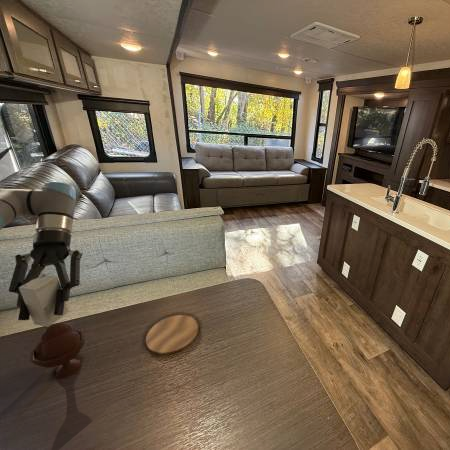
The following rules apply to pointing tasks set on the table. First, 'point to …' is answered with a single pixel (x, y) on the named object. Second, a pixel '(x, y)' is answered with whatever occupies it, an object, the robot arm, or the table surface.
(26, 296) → the cosmetic box
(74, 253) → the robot arm
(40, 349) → the ice cream bowl
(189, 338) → the wooden trivet
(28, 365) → the table surface
